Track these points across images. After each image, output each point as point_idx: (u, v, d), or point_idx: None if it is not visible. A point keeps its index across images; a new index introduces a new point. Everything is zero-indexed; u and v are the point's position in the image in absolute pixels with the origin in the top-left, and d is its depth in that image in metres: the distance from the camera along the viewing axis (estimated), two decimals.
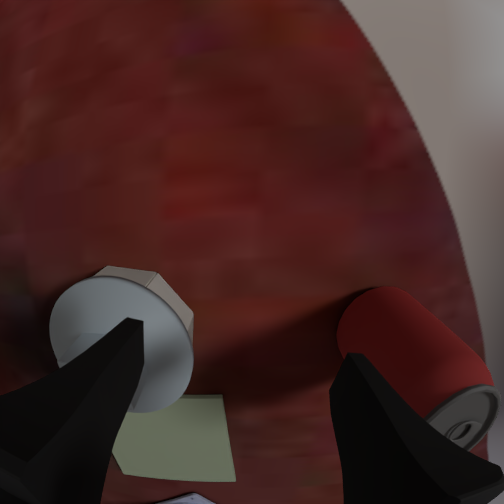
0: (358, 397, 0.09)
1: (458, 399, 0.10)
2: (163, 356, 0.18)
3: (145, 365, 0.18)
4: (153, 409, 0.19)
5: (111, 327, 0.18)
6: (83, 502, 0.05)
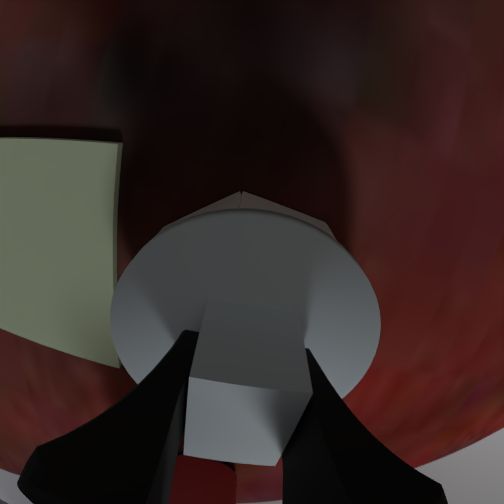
0: None
1: None
2: None
3: None
4: (123, 359, 0.12)
5: None
6: None
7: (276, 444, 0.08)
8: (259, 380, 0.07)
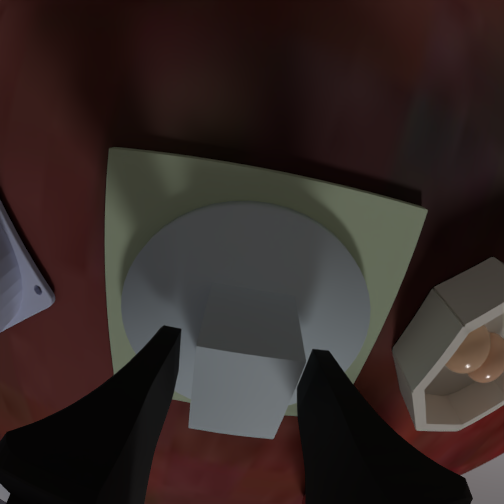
0: (320, 395, 0.09)
1: None
2: None
3: None
4: (132, 342, 0.13)
5: None
6: None
7: (274, 415, 0.09)
8: (258, 350, 0.09)
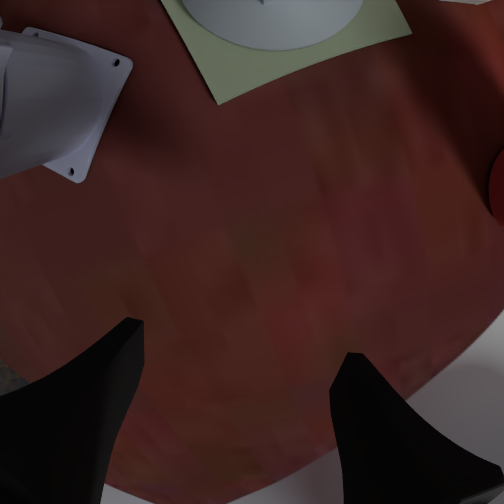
0: (359, 397, 0.09)
1: None
2: (301, 14, 0.13)
3: None
4: (205, 23, 0.13)
5: None
6: (83, 502, 0.05)
7: None
8: None
